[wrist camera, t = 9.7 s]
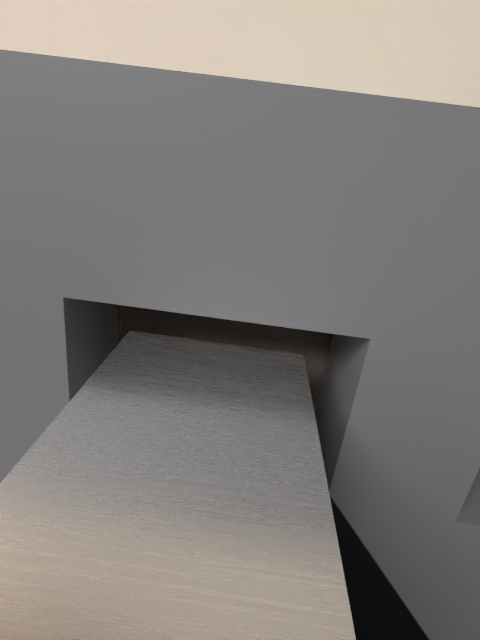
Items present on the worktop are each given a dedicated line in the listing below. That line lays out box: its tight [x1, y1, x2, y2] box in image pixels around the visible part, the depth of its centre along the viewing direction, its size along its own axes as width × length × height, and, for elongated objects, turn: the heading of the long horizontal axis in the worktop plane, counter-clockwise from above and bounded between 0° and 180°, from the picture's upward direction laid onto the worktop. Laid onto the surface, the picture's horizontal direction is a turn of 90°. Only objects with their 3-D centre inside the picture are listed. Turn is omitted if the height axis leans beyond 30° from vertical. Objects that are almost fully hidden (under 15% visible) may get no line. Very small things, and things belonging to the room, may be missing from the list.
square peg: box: [0, 331, 356, 640], centre depth 6 cm, size 4×4×8 cm
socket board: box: [0, 50, 480, 640], centre depth 10 cm, size 14×20×3 cm
